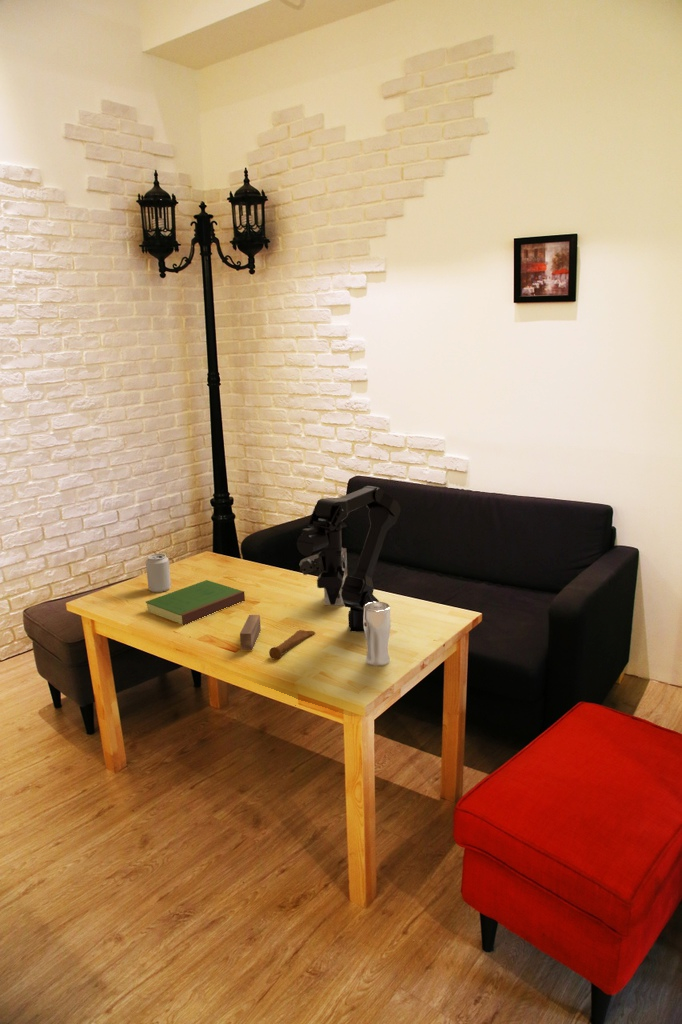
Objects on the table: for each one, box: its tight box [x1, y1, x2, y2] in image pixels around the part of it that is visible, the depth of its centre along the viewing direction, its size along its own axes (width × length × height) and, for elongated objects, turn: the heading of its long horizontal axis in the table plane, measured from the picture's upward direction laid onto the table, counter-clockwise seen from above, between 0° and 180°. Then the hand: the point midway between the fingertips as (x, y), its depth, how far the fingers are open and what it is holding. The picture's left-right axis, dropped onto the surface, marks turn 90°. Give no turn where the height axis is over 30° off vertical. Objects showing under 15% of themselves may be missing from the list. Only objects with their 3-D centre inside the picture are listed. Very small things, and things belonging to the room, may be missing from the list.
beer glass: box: [363, 601, 392, 667], centre depth 180 cm, size 7×7×15 cm
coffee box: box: [323, 547, 348, 606], centre depth 223 cm, size 9×6×16 cm
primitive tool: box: [268, 629, 316, 660], centre depth 193 cm, size 19×6×4 cm, turn 158°
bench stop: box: [239, 614, 262, 651], centre depth 196 cm, size 3×13×5 cm, turn 176°
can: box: [145, 553, 172, 593], centre depth 239 cm, size 8×8×12 cm
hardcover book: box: [145, 579, 246, 626], centre depth 224 cm, size 25×19×4 cm
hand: (333, 601), depth 191 cm, fingers open, 4 cm apart
